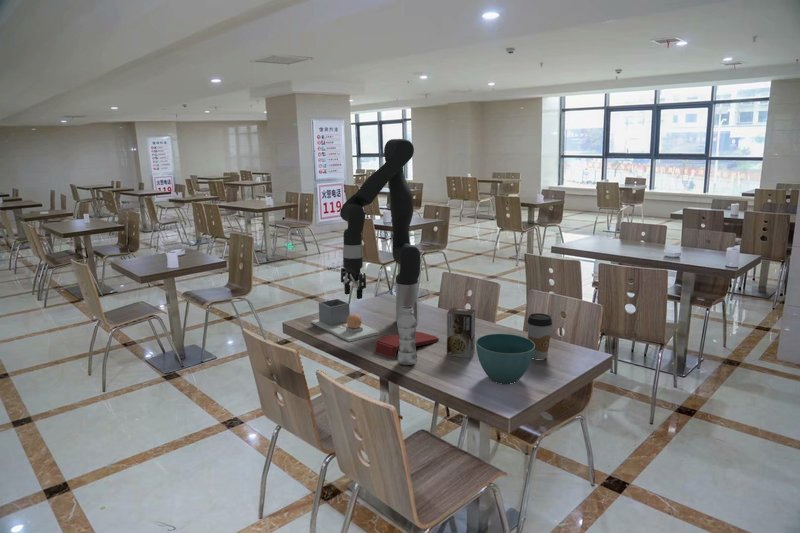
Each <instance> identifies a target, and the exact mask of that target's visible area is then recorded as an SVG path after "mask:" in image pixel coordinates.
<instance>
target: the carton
mask: <svg viewBox="0 0 800 533" xmlns="http://www.w3.org/2000/svg"><path fill="white" fill-rule="evenodd" d="M438 342H439V337H437V336H435V335H431V334H429V333H426V332H420V331H416V333H415V346H416V347H419V346H424V345H429V344H435V343H438ZM397 351H399V333H398V334H397V333H395V334H390V335H383V336H381V337H379V338H378V339H377V340H376V342H375V351H374V352H375V353H377V354H379V355H382V356H386V357H388V358H391V359H393V358H394V357H395V358H396V356H397ZM392 357H393V358H392Z"/></svg>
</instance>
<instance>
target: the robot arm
mask: <svg viewBox="0 0 800 533" xmlns="http://www.w3.org/2000/svg"><path fill="white" fill-rule="evenodd" d="M414 151H415V149H414V144H413V143H412V142H411V141H410V140H409V139H406V138H392V139H389V140H387V142H386V143H385V145H384V149H383V154H384V161H385V163H384V164H382V165H381V167H379V168H378V169H376V170H375V172H373V173H371V174H370V176H369V177H367V178H366V179H365V181H364V182H363V183H362V184H361V186H360V187H359V188H358V190H357V192H355V193H354V194H353V195H351V196H350V198H348V199H347V200H346V201H345V202H344V204H343V205H342V206H341V208H340V211H339V215H340V218H341V219H342V220H343V221H344V222H348V225H347V228H346V229H345V230H344V231H343V247H342V264H343V265H342V267H341V268H340V283H342V284H343V287H344V290H343V291H344V294H345V295H350V294H351V285H350V284H351V283H352V284H353V285H354V286H355V289H356V291H355V292H356V299H357V300H361V299H363V289H364V290H365V289H366V288H367V277H366V276H367V275H366V273H365V272H362V273H361V269H362V268H363V267H364V266H363V262H364V261H363V259H364V257H363V256H364V255H363V250H364V249H363V230H364V227H365V223H366V222H365V221H366V214H365V213H366V212H365V209H364V207H366V206H369V205H371V204H372V203H373V202H374V201H375V199H377V198H376V197H378V195H379V194H380V193H381V191H382V190H383V189H384V187H385V186H386V185H387V184H388V190H389V204H390V205H389V206H390V208H389V209H390V215H391V216H390V218H391V228H392V248H391V249H392V250H391V251H392V258H393V260H394V262H395V263H396V264H398V265H399V273H398V274H397V275H396V276H395V322H396V324H397V322H398V319H399V318H400V316H401V315H402V313H401V311H402V307H404V306H410V307H413V313H412V315H413V316H414V318H415V319H416V322H417V324H418V322H419V277H420V274H421V253H420V250H419V248H418V247H417V246H415V245H413V244H411V240H410V226H411V222H412V219H413V217H414V216H413V215H414V199H413V193H412V190H411V188H410V186H409V183H408V182H407V179H406V176H405V172H404V166H406V165H407V163H409V161H411V159H412V158H413V156H414V154H415V152H414Z"/></svg>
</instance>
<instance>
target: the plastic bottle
mask: <svg viewBox="0 0 800 533" xmlns="http://www.w3.org/2000/svg"><path fill="white" fill-rule="evenodd" d="M401 313H402V315H401V316H400V318H399V319H398V322H397V323H396V326H397V331H398V334H399V350H397V351H398V352H397V362H398V363H399V364H400V365H403V366H411V365H412V366H413V365H414V364H416V362H417V359H418V354H417V349H416V348H417V346H415V333H416V332H417V325H418V323H417V322H416V319H415V318H414V316H413V315H412V313H413V307H410V306H404V307H402V311H401Z"/></svg>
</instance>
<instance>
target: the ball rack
mask: <svg viewBox="0 0 800 533" xmlns="http://www.w3.org/2000/svg"><path fill="white" fill-rule="evenodd" d="M349 315H351V312H350V303H349V302H347V301H344V300H342V299H339V298H335V299H334V298H333V299H330V300H326V301H319V302H318V317H319V318H317V319H312V320H311V324H313V325H314V326H317V327H319V328H321V329H323V330H324V331H326V332H329V333H330V334H332V335H334V336H336V337H339V338H341V339H343V340H344V341H347V342H354V341H357V340H362V339H366V338H369V337H373V336H377V335H380V331H379V330H376V329H374V328H372V327H369V326H367V325H365V324H363V323H361V326H360V327H359V328H356V329H351V328H350V327H349V326H348V325H347V318H348V316H349Z"/></svg>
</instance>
